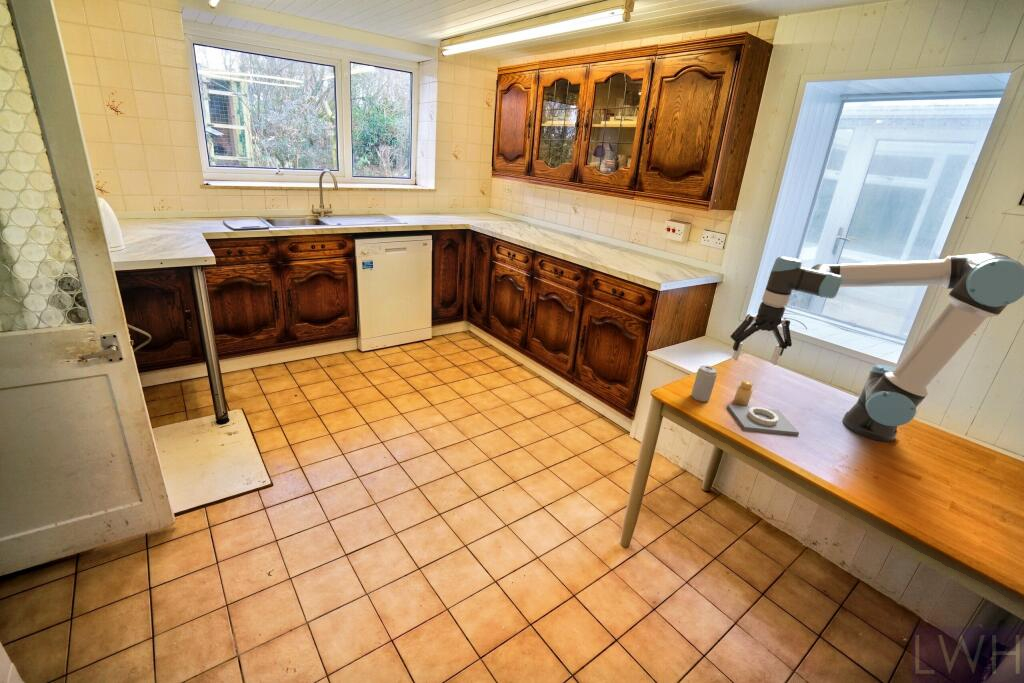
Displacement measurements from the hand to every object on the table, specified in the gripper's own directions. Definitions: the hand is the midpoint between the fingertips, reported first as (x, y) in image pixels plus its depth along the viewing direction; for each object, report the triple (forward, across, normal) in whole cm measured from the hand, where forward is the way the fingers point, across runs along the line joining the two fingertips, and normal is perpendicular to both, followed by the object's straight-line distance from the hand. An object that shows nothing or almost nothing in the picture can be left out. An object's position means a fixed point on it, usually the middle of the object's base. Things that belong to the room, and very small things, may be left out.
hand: (753, 361), depth 166 cm
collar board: (+16, -2, +12) cm, 21 cm away
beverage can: (+17, +15, 0) cm, 22 cm away
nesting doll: (+17, 0, 0) cm, 17 cm away
